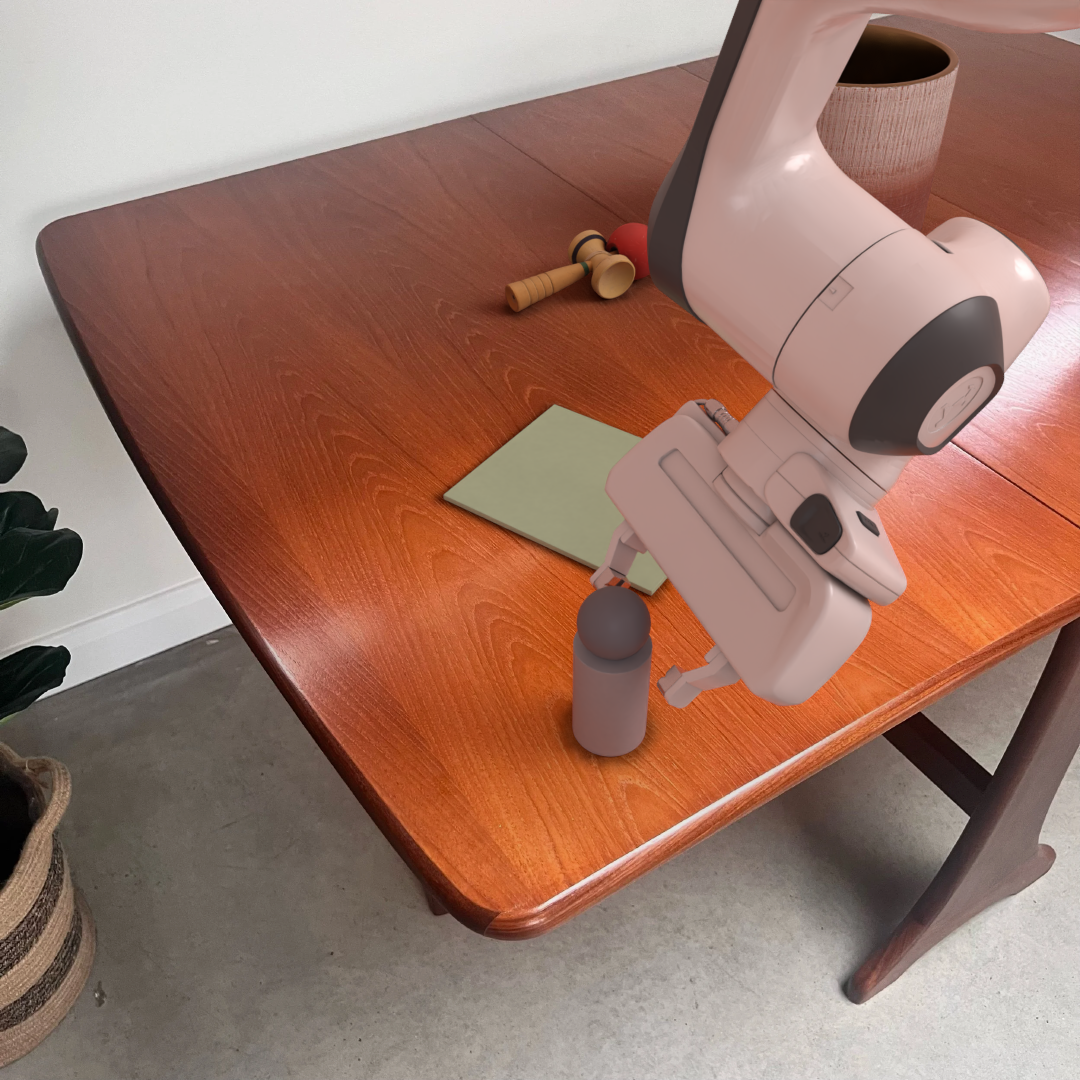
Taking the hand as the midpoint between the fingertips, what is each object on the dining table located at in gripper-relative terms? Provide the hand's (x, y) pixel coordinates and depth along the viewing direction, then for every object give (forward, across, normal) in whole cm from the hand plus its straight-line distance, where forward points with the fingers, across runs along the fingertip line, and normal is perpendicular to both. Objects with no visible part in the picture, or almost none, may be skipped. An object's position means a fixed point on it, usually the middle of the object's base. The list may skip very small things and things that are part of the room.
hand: (632, 642), depth 64 cm
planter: (-31, -56, +42) cm, 77 cm away
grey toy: (+6, 0, +4) cm, 8 cm away
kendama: (-10, -54, +20) cm, 59 cm away
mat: (0, -22, +11) cm, 25 cm away
